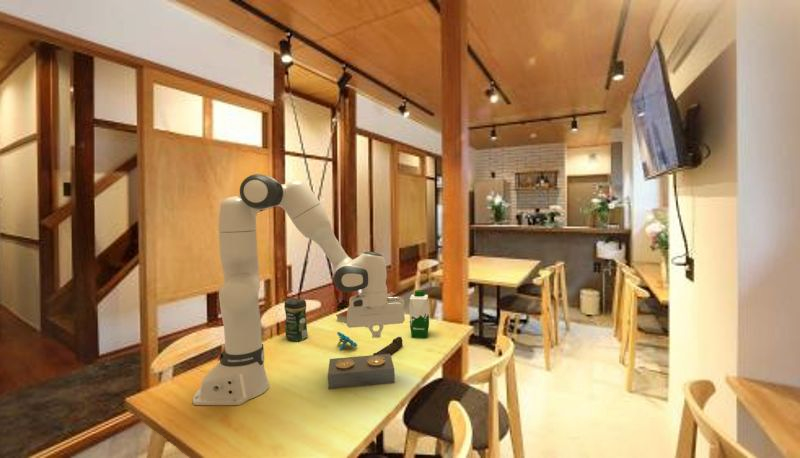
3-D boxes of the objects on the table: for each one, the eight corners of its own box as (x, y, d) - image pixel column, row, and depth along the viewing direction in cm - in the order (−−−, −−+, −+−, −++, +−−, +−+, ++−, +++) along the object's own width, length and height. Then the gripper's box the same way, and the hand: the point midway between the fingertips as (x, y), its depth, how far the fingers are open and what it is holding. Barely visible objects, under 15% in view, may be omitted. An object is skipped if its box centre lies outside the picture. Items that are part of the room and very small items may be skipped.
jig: (328, 389, 116) (327, 372, 115) (330, 372, 128) (329, 356, 127) (394, 382, 119) (394, 366, 118) (390, 366, 131) (390, 351, 130)
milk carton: (429, 331, 166) (429, 289, 164) (428, 339, 157) (427, 294, 155) (411, 331, 167) (410, 289, 165) (409, 338, 158) (408, 294, 157)
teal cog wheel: (361, 345, 147) (344, 332, 143) (353, 358, 144) (335, 345, 141) (351, 341, 156) (334, 328, 153) (343, 353, 154) (326, 340, 150)
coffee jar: (282, 339, 161) (280, 299, 160) (296, 333, 168) (294, 295, 166) (297, 343, 156) (295, 302, 154) (310, 337, 163) (309, 297, 161)
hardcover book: (350, 315, 194) (350, 308, 194) (382, 321, 184) (382, 313, 183) (336, 322, 184) (335, 314, 184) (368, 328, 173) (368, 320, 173)
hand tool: (380, 364, 133) (380, 352, 133) (372, 362, 136) (372, 350, 135) (407, 347, 149) (407, 336, 149) (399, 345, 151) (399, 334, 151)
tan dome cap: (367, 377, 120) (367, 364, 120) (367, 369, 127) (366, 356, 126) (386, 376, 121) (386, 363, 121) (384, 367, 127) (384, 355, 127)
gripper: (403, 293, 127) (404, 331, 128) (345, 298, 124) (347, 336, 125) (405, 298, 120) (407, 337, 121) (345, 302, 118) (347, 343, 118)
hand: (376, 337), depth 123 cm, fingers closed
